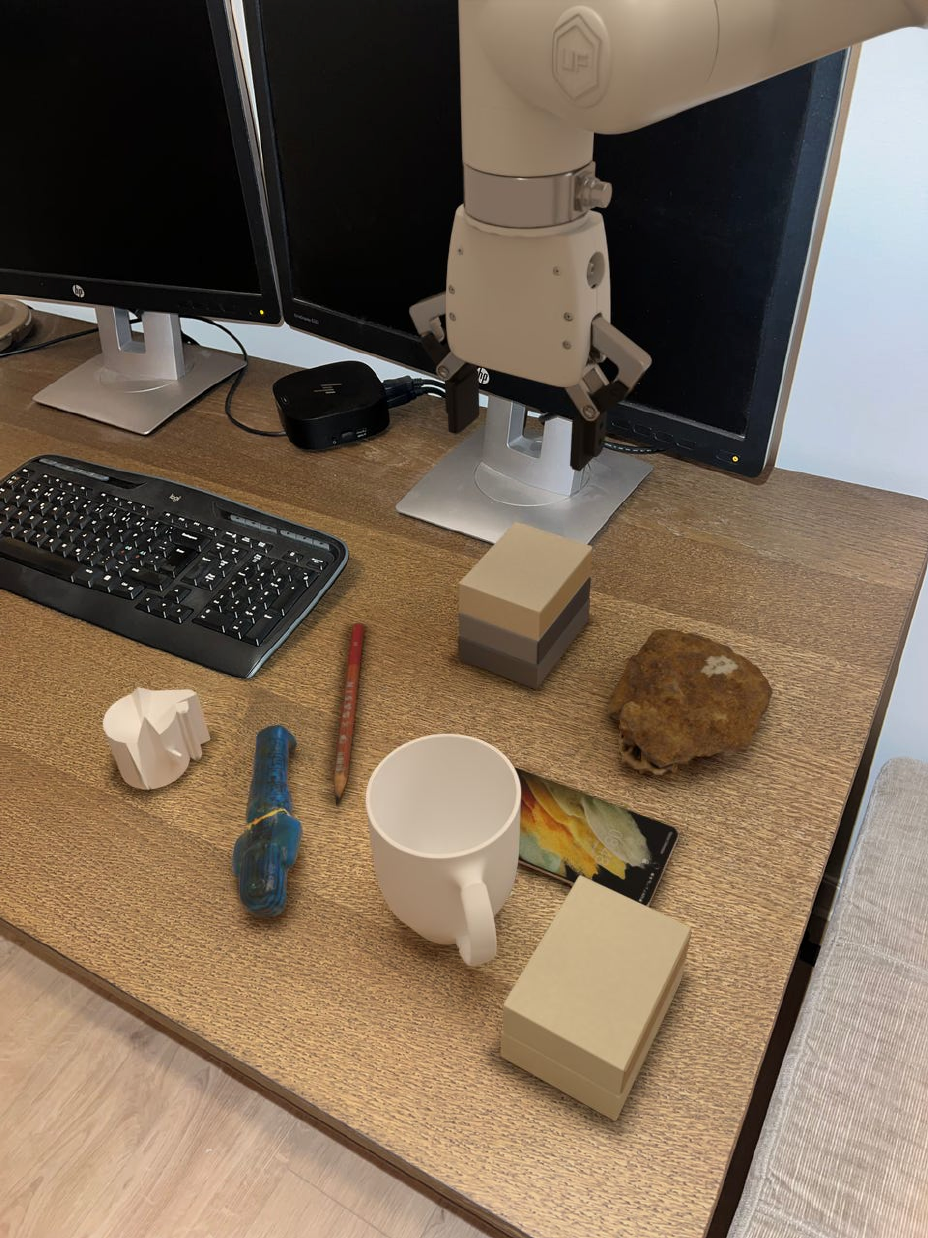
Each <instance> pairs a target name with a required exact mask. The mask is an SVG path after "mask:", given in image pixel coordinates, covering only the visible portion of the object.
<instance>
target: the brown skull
mask: <svg viewBox="0 0 928 1238" xmlns="http://www.w3.org/2000/svg"><path fill="white" fill-rule="evenodd" d="M773 693H774V691H773V688H772V686H771V684H770V681H769V680H768V678H766V677H765V675H764V674H763V672H762V671H761V669H760V667H759V666H757V665H756V664H754V663H753V662H752V661H751V660H750V659H749V658H747V657H744V656H742V655H740V654H739V653H737V652H735V651H734V650H733V649H732V648H731V647H730V646H729V645H726V644H723V643H720V642H717V641H715V640H712V639H711V638H708V637H705V636H701V635H699V634H696V633H693V632H684V631H682V630H677V629H668V628H663V629H654V630H653V631H652V632H651V634H650V635H649V636H647V639H646V640H645V642H644V643H643V644H642V646H641V647H640V649H639V650H638V652H637V653H636V654H632V655H631V656H630V657H629V658H628V660H627V662H626V665H625V668H624V670H623V672H622V673H621V675H620V678H619V680H618V681H617V683H616V684H615V686H614V688H613V689H612V692H611V693H610V695H609V698H610V699H609V700H608V701H606V703H607V704H608V706H607V711H608V713H609V715H610V717H612V718H613V719H615V720H616V721H619V727H618V730H619V733H618V738H617V741H618V743H619V747H618V751H617V754H619V755H620V756H621V757H622V759H621V763H620V765H625V764H628V765H629V766H630V767H631V768H632V769H633V770H638V771H639V774H640V775H642V774H643V773H645V772H651V773H653V775H655V776H664V777H667V776H670V775H672V774H675V773H676V770H677V767H678V765H686V766H689V765H690V764H691V763H692V761H693V759H695V758H700V757H701V758H702V757H711V756H713V755H715V754H721V755H724V756H729V755H733V754H743V753H744V754H745V753H746V752H747V751H748V749H749V748H750V747H751V746H752V741H753V739H754V735H756V733H757V732H758V730H759V728H760V723H761V721H762V719H763V717H764V715H765V714H766V712H767V711H768V710H769V707H770V702H771V698H772V695H773ZM640 758H641V759H640Z"/></svg>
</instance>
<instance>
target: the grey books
mask: <svg viewBox="0 0 928 1238" xmlns="http://www.w3.org/2000/svg"><path fill="white" fill-rule="evenodd" d="M591 584H592V577H591V575H590V576H589V577H588V579H587V580H586V581H585V582H584V584H583V585H582V586H581V588H580V589H579V590H578V591H577V593H576V594H575V595H574V596H573V598H572V599H571V600H570V602H569V603H568V604H567V605H566V607H565V608H564V609H563V610H562V612H561V613H560V614H559V616H558V617H557V618H556V619H555V621H554V622H553V623H552V624H551V626H550V627H549V628H548V630H547V631H546V632H545V633H544V635H543V636H542V637H541V638H540V640H539V641H535V640H533V639H530V638H527V637H525V636H522V635H519V634H517V633H514V632H511V631H509V630H506V629H503V628H501V627H498V626H495V625H493V624H490V623H487V622H485V621H482V620H479V619H477V618H474V617H471V616H469V615H466V614H463V613H461V612H458V613H457V614H458V615H457V616H458V637H457V647H458V650H457V651H458V660H460V661H462V662H465V663H467V664H470V665H472V666H475V667H477V668H479V669H483V670H485V671H488V672H490V673H493V674H495V675H497V676H500V677H503V678H505V679H507V680H510V681H513V682H516V683H518V684H520V685H522V686H526V687H527V688H531V689H532V690H538V688H539V687H540V686H541V684H542V683H543V682H544V681H545V680H546V677H548V675H549V674H550V673H551V671H552V670H553V668H555V666H556V664H557V663H558V662H559V660H560V659H561V657H563V655H564V654H565V652H566V651H567V649H568V648H569V647H570V646H571V644H573V642H574V640H575V639H576V637H577V636H578V635H579V634H580V632H581V631H582V630H583V629H584V627H585V626H586V624H587V623H588V622H589V619H590V609H591V608H590V606H591V598H590V597H591Z"/></svg>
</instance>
